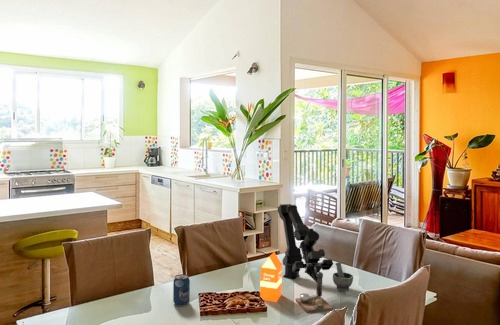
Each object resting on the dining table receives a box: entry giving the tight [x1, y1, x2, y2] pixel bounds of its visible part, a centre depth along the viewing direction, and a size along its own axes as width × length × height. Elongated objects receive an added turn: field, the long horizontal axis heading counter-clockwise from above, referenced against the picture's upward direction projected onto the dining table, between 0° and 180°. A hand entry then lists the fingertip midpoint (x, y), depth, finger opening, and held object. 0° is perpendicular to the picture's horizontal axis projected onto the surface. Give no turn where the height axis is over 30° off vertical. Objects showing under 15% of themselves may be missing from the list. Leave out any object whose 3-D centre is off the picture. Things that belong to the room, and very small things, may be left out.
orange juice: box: [259, 251, 283, 303], centre depth 184 cm, size 8×9×20 cm
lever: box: [299, 271, 324, 303], centre depth 178 cm, size 4×12×12 cm, turn 118°
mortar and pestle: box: [332, 261, 354, 293], centre depth 196 cm, size 11×9×12 cm
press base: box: [295, 296, 334, 314], centre depth 175 cm, size 13×12×5 cm
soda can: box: [172, 273, 191, 307], centre depth 175 cm, size 7×7×12 cm
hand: (317, 282), depth 182 cm, fingers closed
